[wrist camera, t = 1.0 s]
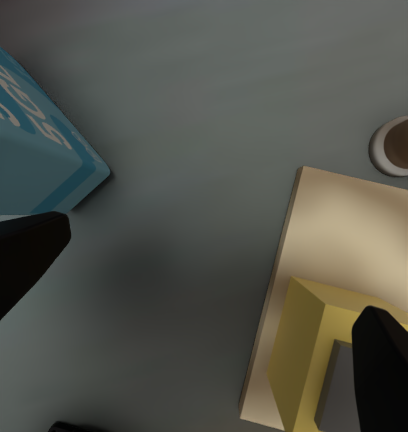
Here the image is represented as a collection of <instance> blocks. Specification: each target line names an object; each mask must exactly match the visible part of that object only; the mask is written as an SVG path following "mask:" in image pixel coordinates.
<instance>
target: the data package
mask: <svg viewBox="0 0 408 432" xmlns="http://www.w3.org/2000/svg"><path fill="white" fill-rule="evenodd" d="M109 175H110V169H109V167H108V166H107V164H106V163H105V162H104V160H103V159H102V158H101V157H100V156H99V155H98V153H97V152H96V151H95V150H94V149H93V148H92V146H91V145H90V144H89V143H88V142H87V141H86V140H85V138H84V137H83V136H82V135H81V134H80V133H79V131H78V130H77V129H76V128H75V127H74V126H73V125H72V123H71V122H70V121H69V120H68V119H67V118H66V116H65V115H64V114H63V113H62V112H61V111H60V110H59V108H58V107H57V106H56V105H55V104H54V103H53V101H52V100H51V99H50V98H49V97H48V96H47V94H46V93H45V92H44V91H43V90H42V89H41V88H40V86H39V85H38V84H37V83H36V82H35V81H34V79H33V78H32V77H31V76H30V75H29V74H28V73H27V71H26V70H25V69H24V68H23V67H22V66H21V65H20V64H19V63H18V62H17V61H16V60H15V59H14V58H13V57H12V56H10V55H9V54H8V53H7V52H6V51H5V50H4V49H2V48H1V47H0V215H36V214H41V213H45V212H50V211H57V212H61V213H64V214H66V213H68V212H69V211H70V210H71V209H72V208H73V207H74V206H76V205H77V204H78V203H79V202H80V201H81V200H82V199H83V198H84V197H86V196H87V195H88V194H89V193H90V192H91V191H92V190H93V189H94V188H96V187H97V186H98V185H99V184H100V183H101V182H102V181H103V180H105V179H106V178H107V177H108V176H109Z"/></svg>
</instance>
